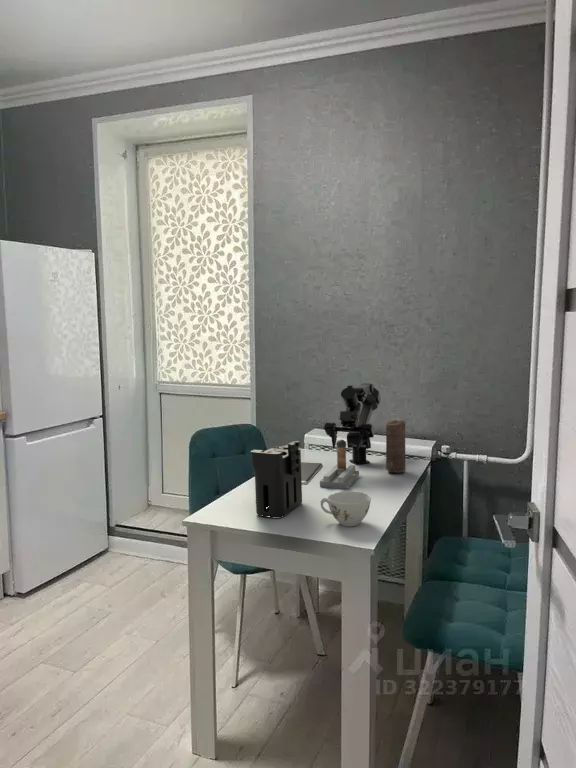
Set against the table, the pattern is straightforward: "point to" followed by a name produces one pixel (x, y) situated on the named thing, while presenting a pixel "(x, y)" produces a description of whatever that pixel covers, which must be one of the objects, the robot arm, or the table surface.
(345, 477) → the slider console
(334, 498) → the teacup
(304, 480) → the smartphone
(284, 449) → the black machined bracket
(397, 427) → the candle
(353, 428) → the robot arm
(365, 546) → the table surface
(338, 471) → the lever
